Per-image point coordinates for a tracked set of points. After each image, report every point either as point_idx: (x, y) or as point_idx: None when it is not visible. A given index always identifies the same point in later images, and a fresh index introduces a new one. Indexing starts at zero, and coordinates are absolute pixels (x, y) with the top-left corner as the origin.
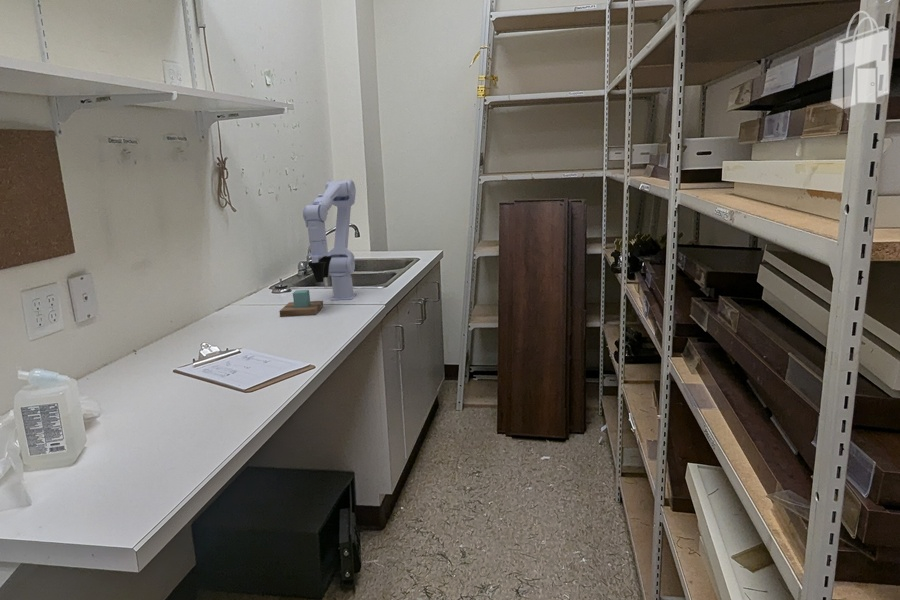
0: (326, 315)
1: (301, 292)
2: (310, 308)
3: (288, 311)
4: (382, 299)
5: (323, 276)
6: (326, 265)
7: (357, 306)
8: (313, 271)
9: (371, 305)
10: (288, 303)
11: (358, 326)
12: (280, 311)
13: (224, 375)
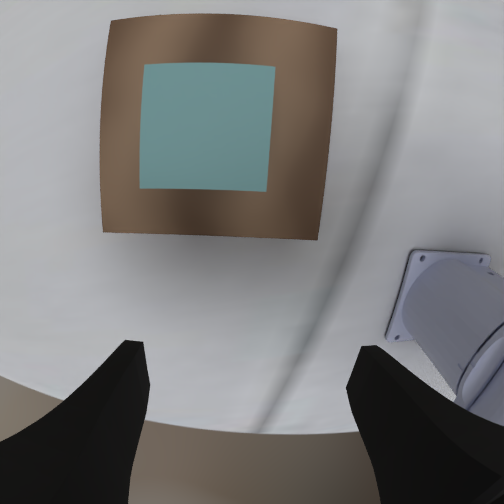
0: (113, 273)
1: (161, 140)
2: (122, 199)
3: (105, 71)
4: (331, 424)
5: (140, 431)
6: (388, 480)
7: (254, 376)
8: (48, 422)
9: (254, 412)
10: (309, 26)
11: (8, 374)
12: (110, 27)
13: None
